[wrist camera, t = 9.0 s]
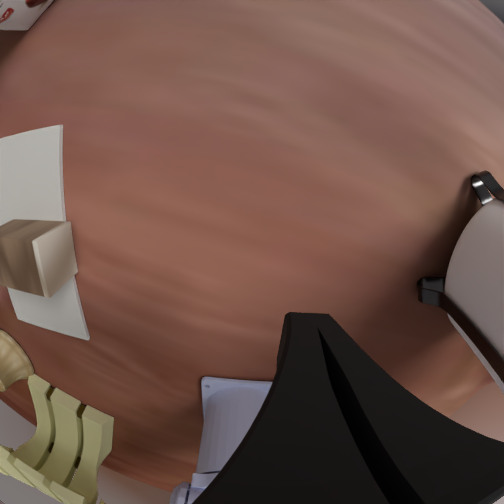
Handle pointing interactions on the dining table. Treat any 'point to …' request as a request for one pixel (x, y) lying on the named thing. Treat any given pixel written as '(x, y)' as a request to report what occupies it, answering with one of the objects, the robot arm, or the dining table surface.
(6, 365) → the hand bell
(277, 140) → the dining table surface
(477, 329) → the coffee press
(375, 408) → the robot arm
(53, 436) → the slatted curved stool
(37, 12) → the juice carton
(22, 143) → the felt mat
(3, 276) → the walnut block
